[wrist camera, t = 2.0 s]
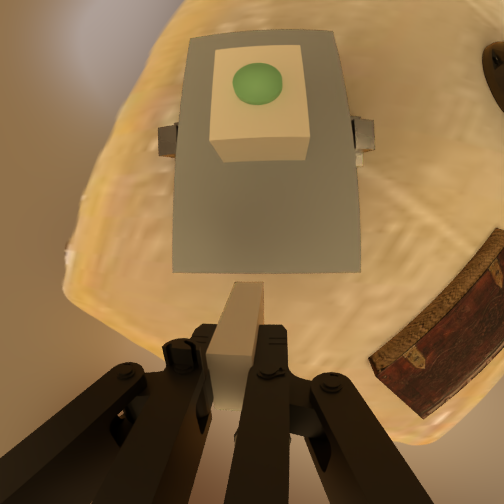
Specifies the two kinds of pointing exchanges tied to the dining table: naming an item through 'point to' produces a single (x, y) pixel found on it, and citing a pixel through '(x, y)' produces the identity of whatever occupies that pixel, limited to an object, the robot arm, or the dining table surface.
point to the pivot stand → (360, 130)
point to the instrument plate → (267, 190)
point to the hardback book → (449, 335)
